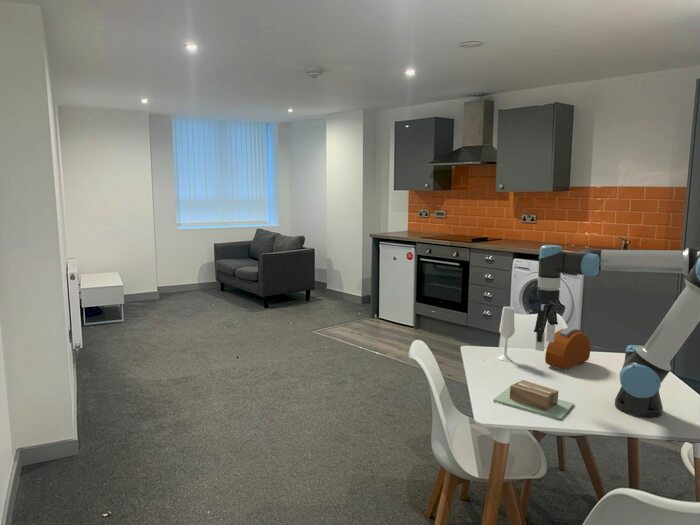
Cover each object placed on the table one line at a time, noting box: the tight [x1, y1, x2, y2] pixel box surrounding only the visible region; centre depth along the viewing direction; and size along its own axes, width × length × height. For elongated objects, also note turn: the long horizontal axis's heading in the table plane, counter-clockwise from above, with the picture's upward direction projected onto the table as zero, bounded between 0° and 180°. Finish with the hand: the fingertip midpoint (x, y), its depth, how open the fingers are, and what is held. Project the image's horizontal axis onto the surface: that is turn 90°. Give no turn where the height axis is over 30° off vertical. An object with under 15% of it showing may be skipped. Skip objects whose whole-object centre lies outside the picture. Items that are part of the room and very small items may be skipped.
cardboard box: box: [509, 379, 559, 411], centre depth 193 cm, size 9×14×5 cm, turn 43°
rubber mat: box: [493, 386, 575, 421], centre depth 194 cm, size 24×16×1 cm, turn 53°
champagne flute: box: [497, 306, 516, 362], centre depth 241 cm, size 7×7×24 cm
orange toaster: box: [544, 327, 591, 372], centre depth 236 cm, size 23×9×17 cm, turn 129°
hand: (545, 346), depth 193 cm, fingers open, 13 cm apart
